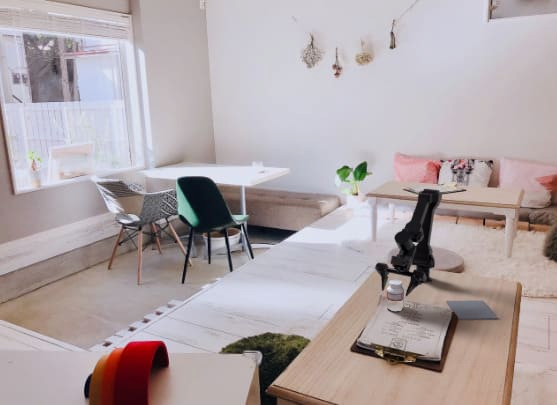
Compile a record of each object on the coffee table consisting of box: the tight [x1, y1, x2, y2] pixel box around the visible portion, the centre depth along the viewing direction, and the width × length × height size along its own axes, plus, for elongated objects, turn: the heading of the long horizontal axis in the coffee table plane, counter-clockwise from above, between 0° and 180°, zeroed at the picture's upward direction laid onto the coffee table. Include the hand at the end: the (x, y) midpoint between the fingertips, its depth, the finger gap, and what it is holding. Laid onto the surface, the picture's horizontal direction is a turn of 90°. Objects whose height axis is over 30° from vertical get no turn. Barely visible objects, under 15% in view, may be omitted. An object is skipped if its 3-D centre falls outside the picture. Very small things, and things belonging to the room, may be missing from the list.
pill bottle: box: [386, 279, 405, 301], centre depth 178 cm, size 6×6×11 cm
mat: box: [446, 299, 499, 321], centre depth 177 cm, size 14×14×1 cm
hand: (394, 293), depth 177 cm, fingers open, 9 cm apart
